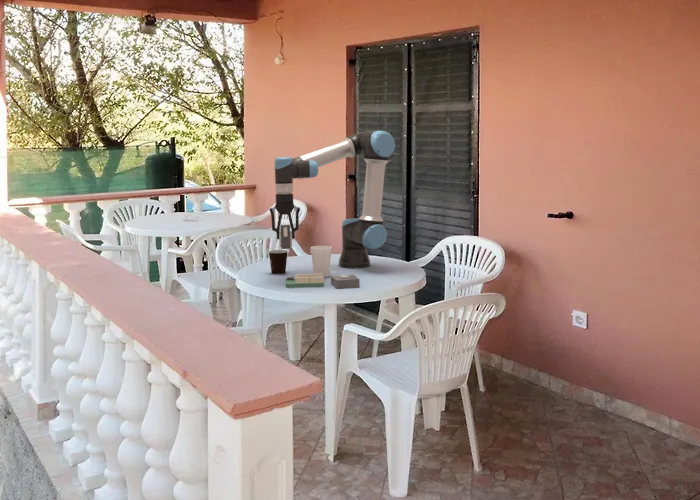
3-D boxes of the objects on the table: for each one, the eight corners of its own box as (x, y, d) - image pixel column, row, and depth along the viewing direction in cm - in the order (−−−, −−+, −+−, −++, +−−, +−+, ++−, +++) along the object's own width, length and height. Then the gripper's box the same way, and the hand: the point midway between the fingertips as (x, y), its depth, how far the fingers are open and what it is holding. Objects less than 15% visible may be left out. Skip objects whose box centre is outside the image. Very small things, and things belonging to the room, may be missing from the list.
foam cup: (324, 278, 335) (323, 249, 333) (307, 276, 340) (306, 248, 337) (335, 275, 343) (335, 246, 340) (318, 273, 347) (318, 245, 345)
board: (322, 281, 329) (322, 276, 328) (323, 286, 318) (323, 281, 318) (285, 282, 327) (285, 276, 327) (285, 287, 317) (285, 282, 316)
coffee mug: (284, 275, 343) (284, 253, 341) (266, 274, 345) (266, 252, 343) (291, 270, 354) (291, 249, 352) (274, 269, 356) (273, 248, 354)
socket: (322, 279, 326) (322, 273, 325) (323, 282, 318) (323, 277, 318) (295, 279, 325) (295, 274, 324) (295, 283, 317) (295, 277, 317)
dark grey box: (353, 282, 326) (353, 273, 325) (359, 287, 317) (359, 277, 316) (330, 283, 324) (330, 274, 323) (336, 288, 314) (336, 279, 313)
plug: (290, 247, 332) (289, 224, 330) (290, 249, 327) (289, 226, 325) (281, 247, 332) (280, 224, 330) (281, 249, 327) (280, 226, 325)
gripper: (264, 194, 321) (266, 248, 325) (304, 193, 323) (305, 247, 327) (264, 192, 329) (266, 245, 333) (303, 191, 330) (305, 244, 334)
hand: (285, 246), depth 330 cm, fingers closed on plug, 4 cm apart
